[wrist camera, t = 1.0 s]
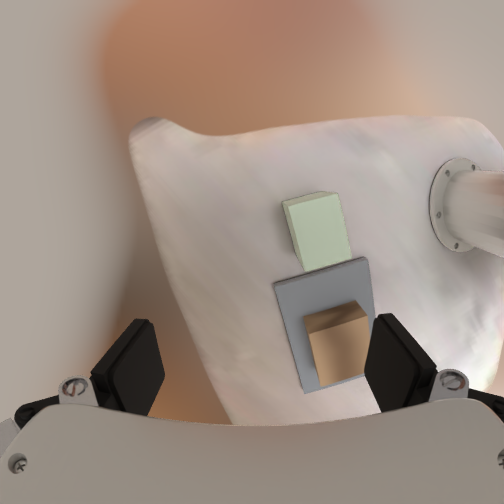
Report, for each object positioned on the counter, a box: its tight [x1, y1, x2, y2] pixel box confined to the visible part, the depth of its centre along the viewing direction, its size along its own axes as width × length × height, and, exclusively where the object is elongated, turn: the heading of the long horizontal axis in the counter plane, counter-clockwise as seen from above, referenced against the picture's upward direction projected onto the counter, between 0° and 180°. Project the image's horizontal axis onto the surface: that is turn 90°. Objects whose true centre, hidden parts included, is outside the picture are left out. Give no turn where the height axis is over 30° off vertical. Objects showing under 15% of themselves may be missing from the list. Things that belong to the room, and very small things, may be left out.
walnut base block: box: [303, 300, 370, 387], centre depth 29 cm, size 6×8×4 cm
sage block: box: [282, 191, 352, 272], centre depth 26 cm, size 4×6×6 cm
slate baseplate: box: [274, 257, 375, 394], centre depth 31 cm, size 11×17×1 cm, turn 16°
